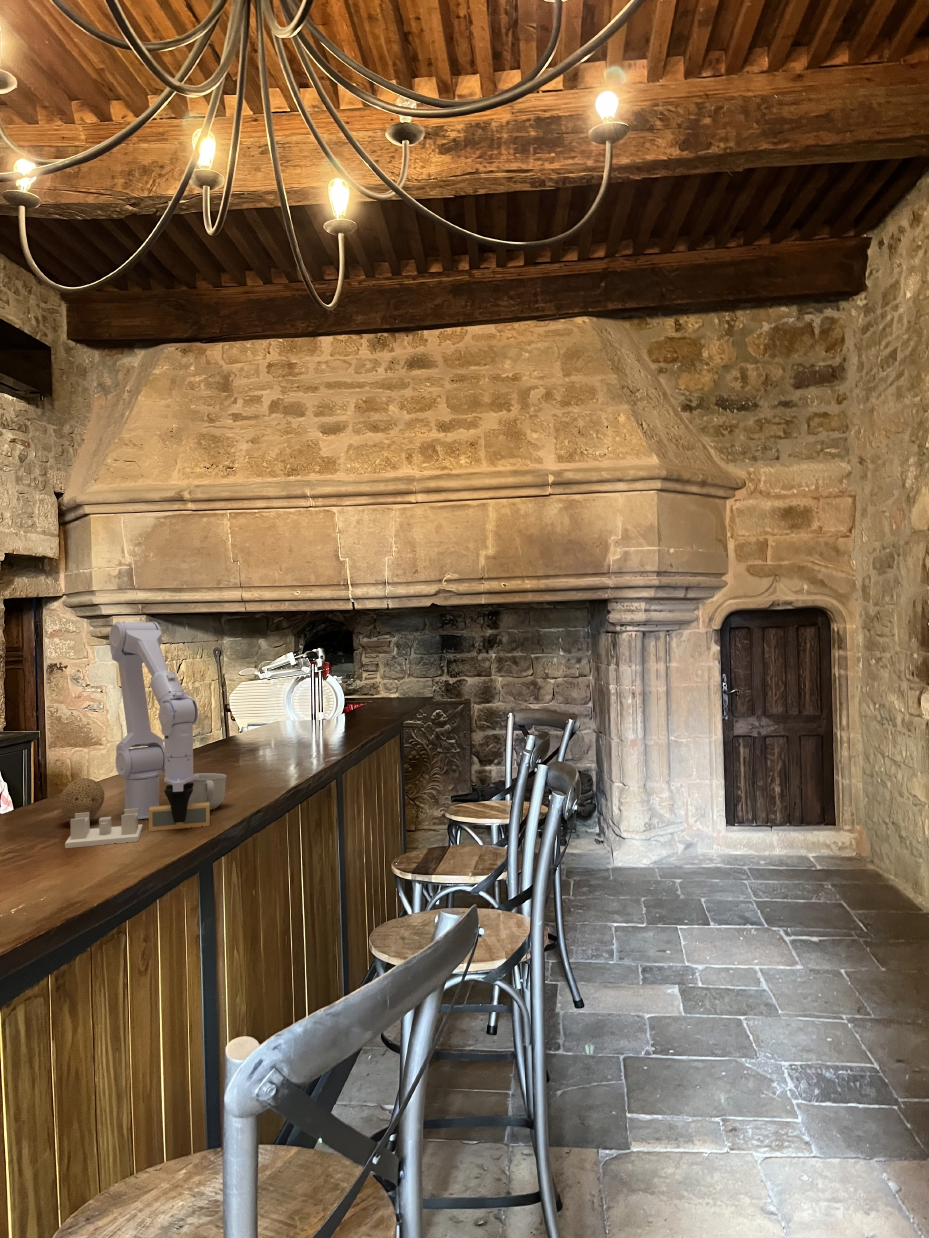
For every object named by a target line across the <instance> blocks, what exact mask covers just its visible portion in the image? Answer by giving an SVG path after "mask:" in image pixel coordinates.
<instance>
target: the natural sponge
mask: <svg viewBox="0 0 929 1238" xmlns="http://www.w3.org/2000/svg"><path fill="white" fill-rule="evenodd" d="M105 795H106V794H105V790H104V788H103V786H102V785H101V784H100V783H99V782H97V781H96V780H94V779H92V778H89V777H79V778H77V779H75V780H73V781H71V782H70V783H68V785H67V786H66V787H65V788H64V789H63V791H62V792H61V795H60V798H59V805H60V810H61V812H62V814H63V815H65V816H66V817H68V818H69V819H70V820H71V819H75V813H86V812H89V819H90V821H91V820H92V819H93V818H95V817H96V815H97V814H98V812H99V811H100V810H101V809H102V806H103V804H104V800H105Z"/></svg>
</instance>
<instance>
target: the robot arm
mask: <svg viewBox="0 0 929 1238" xmlns="http://www.w3.org/2000/svg"><path fill="white" fill-rule="evenodd" d="M162 633H163V632H162V629H161V627H160V625H159V623H158V622H156V621H147V622H146V621H142V622H141V621H138V622H137V621H133V622H131V621H126V622H124V621H123V622H121V621H115V622H114V623H113V625H112V626H111V628H110V631H109V635H108V639H109V640H108V641H109V647H110V654H111V660H113V661H114V662H116V663H117V664H118V672H119V673H118V674H119V681H120V689H121V695H122V704H123V712H124V717H125V718H124V720H125V726H126V733H127V734H126V736H124V738H122V739H121V740H120V741H119V742H118V744H117V745H116V747H115V752H116V753H115V755H116V757H115V769H116V771H117V773H118V775H120V777H121V778H123V779H124V809H136V808H138V820H143V819H145V820H146V819H149V808H150V807H154V806H160V776H162V775H163V772H164V777H163V781H164V782H165V783H166V784H168V785H166V786H165V788H164V795H165V796H166V798H167V801H168V803H169V805H170V806H171V811H172V816H173V820H174V823H178V822H185V819H186V813H187V806H188V801H189V798H190V795H191V793H192V791H193V786H194V783H193V782H190V781H192V780H194V779H199V775H193V774H194V736H193V735H194V733H193V732H194V729H193V726H194V725H195V724H196V722H197V721H198V718H199V707H198V704H197V702H196V700H195V699H194V698H193V697H191V696H190V695H189V694H186V693H185V691H184V689H183V687H182V685H181V683H180V680H179V679H178V676H177V674H176V673H175V672H173V671H169V668H168V666H167V663H166V660H165V657H164V655H163V651H162V649H161V645H162V641H163V640H162V639H163V634H162ZM143 665H144V666H145V667H146V670H147V671H148V673H149V674H150V675H151V679H150V682H149V686H150V688H151V690H152V692H153V695H154V697H155V700H156V702H157V703H158V706H159V710H158V721H159V724H160V727H161V735H162V736H163V737H164V739H163V738H162V737H160V736H159V735H158V734H156V733H154V732H153V731H152V729H151V722H150V715H149V707H148V700H147V691H146V686H145V685H146V683H145V679H144V677H145V676H144V672H143V671H144V670H143ZM163 740H164V741H163Z"/></svg>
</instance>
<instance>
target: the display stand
mask: <svg viewBox="0 0 929 1238" xmlns="http://www.w3.org/2000/svg"><path fill="white" fill-rule="evenodd" d="M120 819H121V823H120V824H121V825H119V826H112V816H104V817H100V818H99V819H98V827H97V828H96V827H95V828H90V824H91V823H90V821H91V820H90V819H89V812H86V813H75V819H71V818H70V822H69V824H70V836H69V837H68V838H67V839H66V841H65V843H64V848H65V849H72V848H73V849H74V848H83V847H94V846H106V845H115V844H114V843H117V844H126V842H128V843H134V842H135V843H137V841H138V842H139V839H140V836H141V834H142V832H141V831H143V824H139V819H138V808H136V809H125V808H124V809H123V814H121V816H120ZM105 844H106V845H105Z"/></svg>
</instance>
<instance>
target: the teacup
mask: <svg viewBox="0 0 929 1238" xmlns="http://www.w3.org/2000/svg"><path fill="white" fill-rule="evenodd" d="M193 775H199V779H194V780H192V781H190V782H193V783H194V786H193V791H192V793H191V795H190V798H189V801H188V804H191V803H204V802H209V811H212V809H213V810H216V809H217V808H218V807H219V806H220V805H221V804H222V803H223V801H224V800H225V796H226V785H227V784H226V782H227V781H226V779H227V774H224V773H213V772H212V773H208V772H207V773H206V772H204V773H203V772H202V773H200V772H199V773H193ZM215 808H216V809H215Z"/></svg>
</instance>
